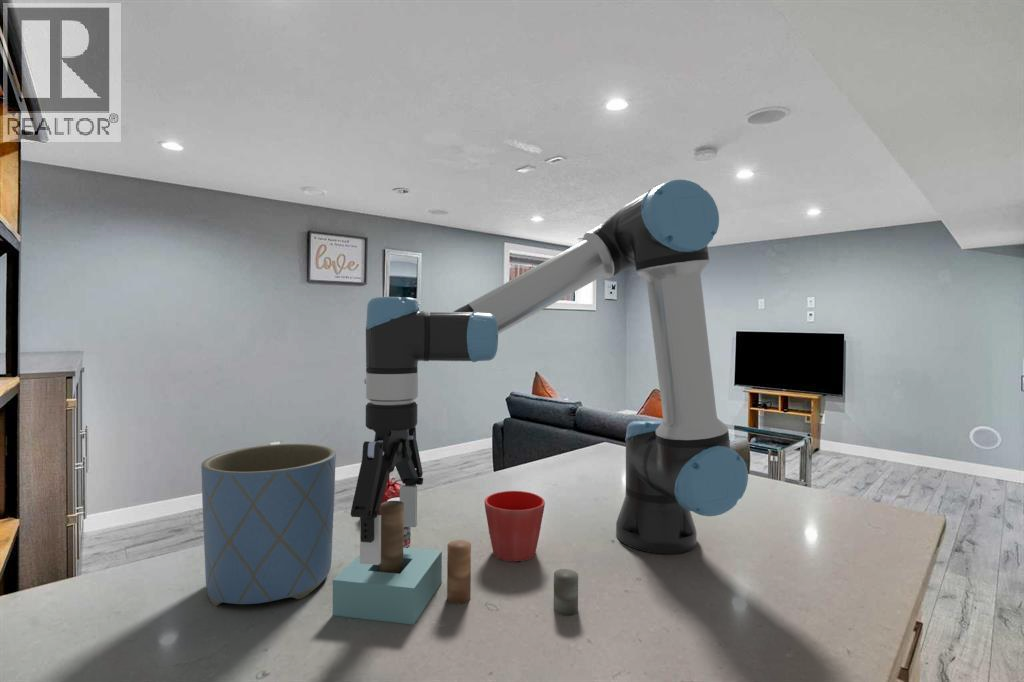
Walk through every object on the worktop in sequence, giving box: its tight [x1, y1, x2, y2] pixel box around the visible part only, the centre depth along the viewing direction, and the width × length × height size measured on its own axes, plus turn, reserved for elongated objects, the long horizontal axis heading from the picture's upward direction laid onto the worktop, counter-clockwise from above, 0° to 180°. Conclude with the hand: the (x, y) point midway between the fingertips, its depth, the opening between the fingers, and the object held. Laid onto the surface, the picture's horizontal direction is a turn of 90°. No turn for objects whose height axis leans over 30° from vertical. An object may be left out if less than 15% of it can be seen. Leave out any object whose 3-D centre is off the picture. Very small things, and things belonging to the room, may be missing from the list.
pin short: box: [553, 568, 579, 617], centre depth 73 cm, size 4×4×5 cm
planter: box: [200, 443, 337, 607], centre depth 80 cm, size 19×19×20 cm
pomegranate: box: [378, 474, 402, 515], centre depth 109 cm, size 10×10×9 cm
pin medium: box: [446, 539, 472, 605], centre depth 75 cm, size 4×4×8 cm
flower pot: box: [483, 490, 546, 563], centre depth 91 cm, size 11×11×10 cm
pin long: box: [379, 501, 404, 574], centre depth 75 cm, size 4×4×14 cm
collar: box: [332, 547, 443, 626], centre depth 75 cm, size 12×12×5 cm
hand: (390, 543), depth 75 cm, fingers open, 13 cm apart
